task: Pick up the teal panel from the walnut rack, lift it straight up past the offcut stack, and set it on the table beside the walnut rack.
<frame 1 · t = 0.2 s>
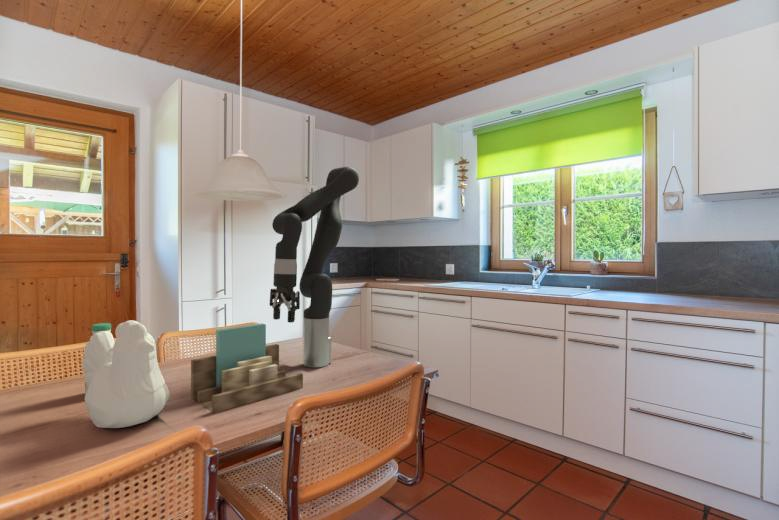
hand: (283, 320, 138), 18 cm above the table, tool pointing down, fingers open, 8 cm apart
walnut rack: (249, 398, 115), on the table
offcut stack: (250, 393, 114), point 1 cm above the table, touching walnut rack
milk bottle: (102, 394, 118), on the table
teal panel: (241, 389, 118), point 1 cm above the table, touching walnut rack
white rounded lumpy piece: (123, 418, 101), on the table
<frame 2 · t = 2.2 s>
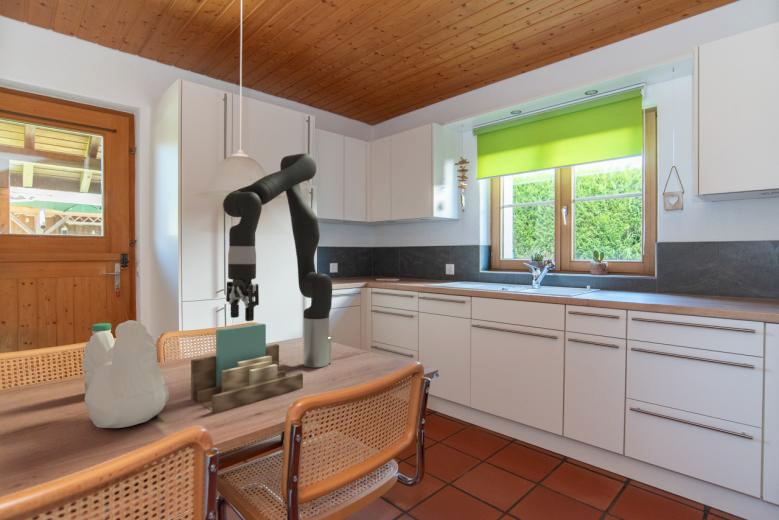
hand: (241, 319, 117), 22 cm above the table, tool pointing down, fingers open, 8 cm apart
nothing on the table moved.
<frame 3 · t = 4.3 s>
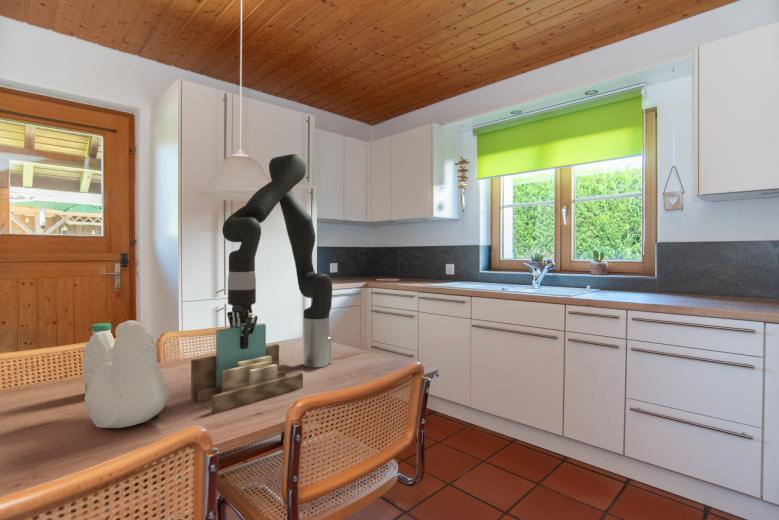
hand: (241, 347, 117), 14 cm above the table, tool pointing down, fingers closed on teal panel, 2 cm apart
teal panel: (241, 389, 118), point 2 cm above the table, touching gripper, walnut rack
everything else where it was.
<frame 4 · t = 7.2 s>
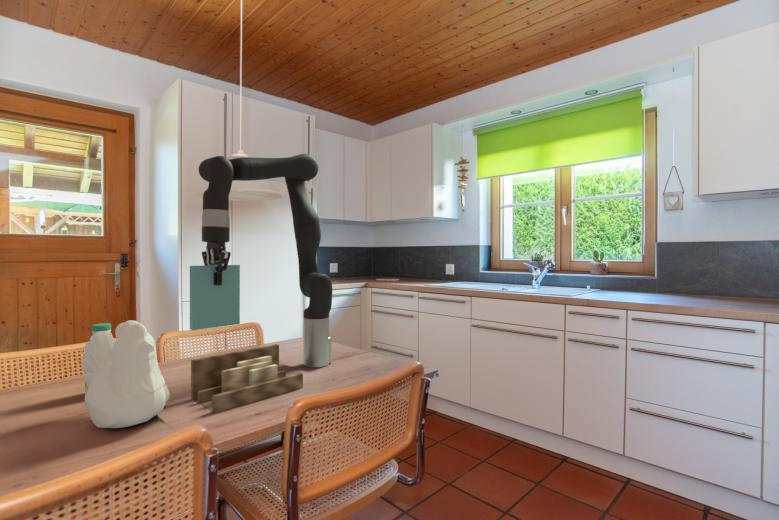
hand: (215, 284, 120), 31 cm above the table, tool pointing down, fingers closed on teal panel
teal panel: (215, 326, 120), point 19 cm above the table, touching gripper
everything else where it was.
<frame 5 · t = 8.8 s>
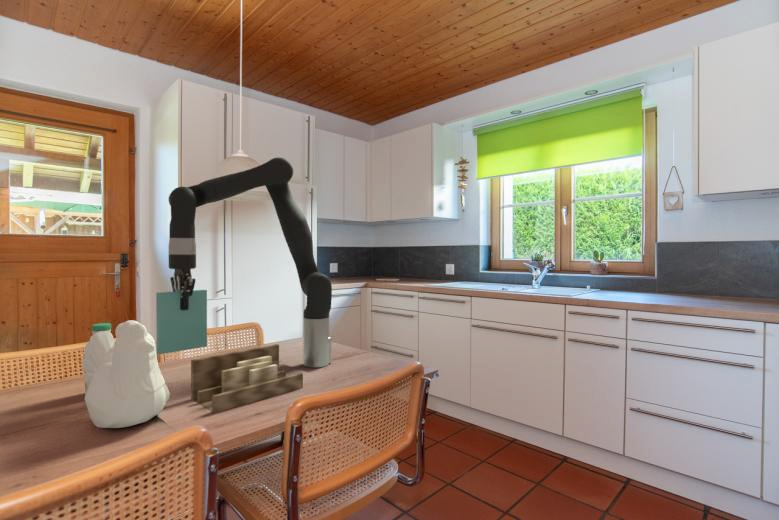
hand: (182, 309, 126), 23 cm above the table, tool pointing down, fingers closed on teal panel
teal panel: (182, 349, 126), point 11 cm above the table, touching gripper
everything else where it was.
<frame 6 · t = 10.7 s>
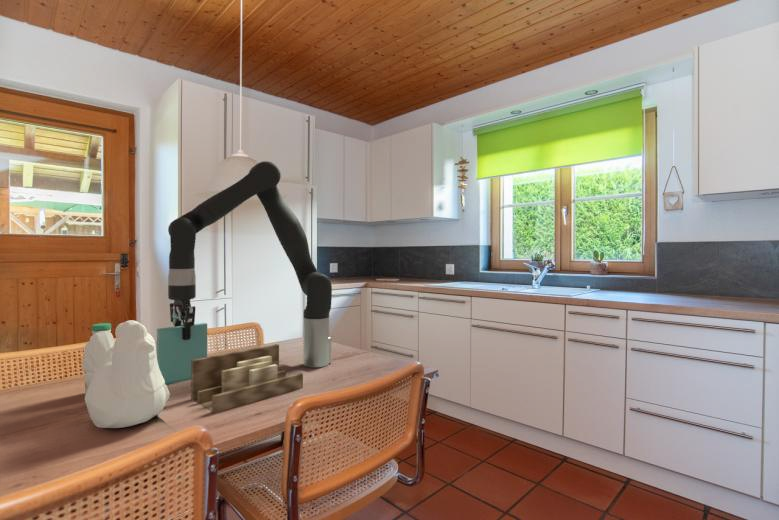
hand: (182, 338, 126), 14 cm above the table, tool pointing down, fingers open, 5 cm apart
teal panel: (182, 384, 126), on the table
everything else where it was.
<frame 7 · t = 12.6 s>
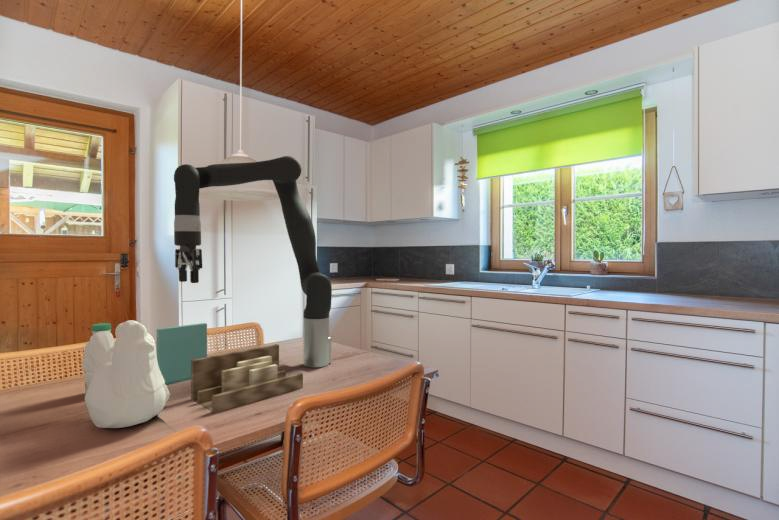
hand: (188, 282, 128), 31 cm above the table, tool pointing down, fingers open, 8 cm apart
nothing on the table moved.
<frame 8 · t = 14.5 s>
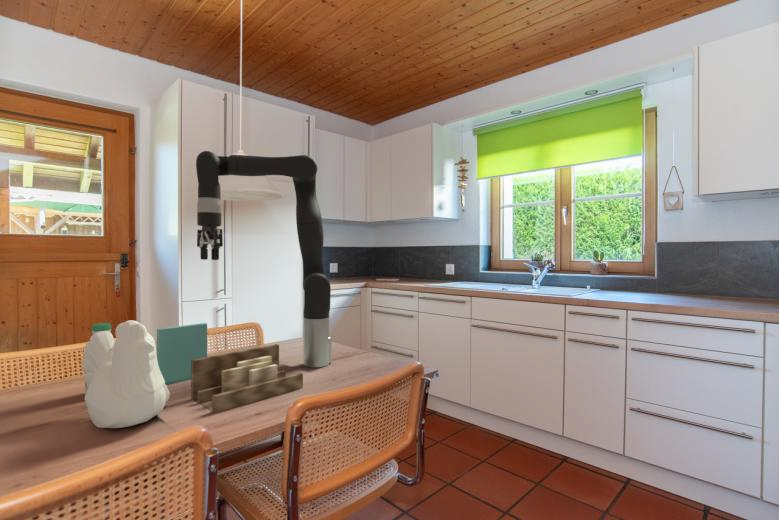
hand: (209, 259, 140), 38 cm above the table, tool pointing down, fingers open, 8 cm apart
nothing on the table moved.
at the end: teal panel inside the target area (0.1 cm from its centre), on the table; the gripper is holding nothing; offcut stack moved 0.1 cm from its start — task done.
